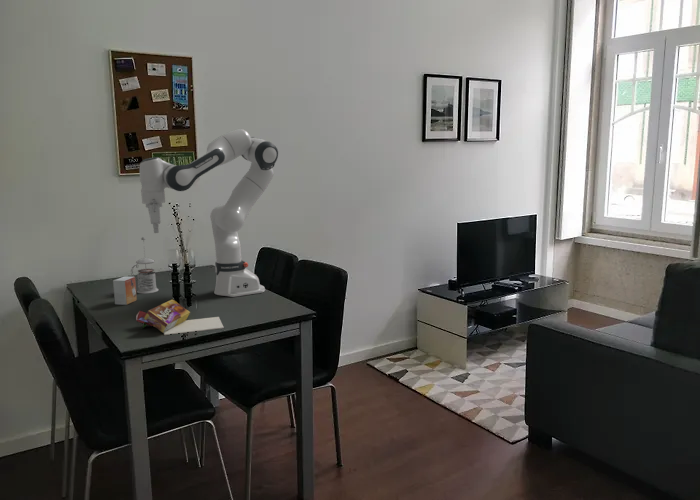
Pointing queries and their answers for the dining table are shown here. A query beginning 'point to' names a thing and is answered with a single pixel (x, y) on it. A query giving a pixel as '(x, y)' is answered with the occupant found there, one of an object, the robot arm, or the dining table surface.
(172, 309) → the candy box
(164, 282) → the dining table surface
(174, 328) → the felt mat
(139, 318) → the geometric puzzle
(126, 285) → the small box
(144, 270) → the french press
